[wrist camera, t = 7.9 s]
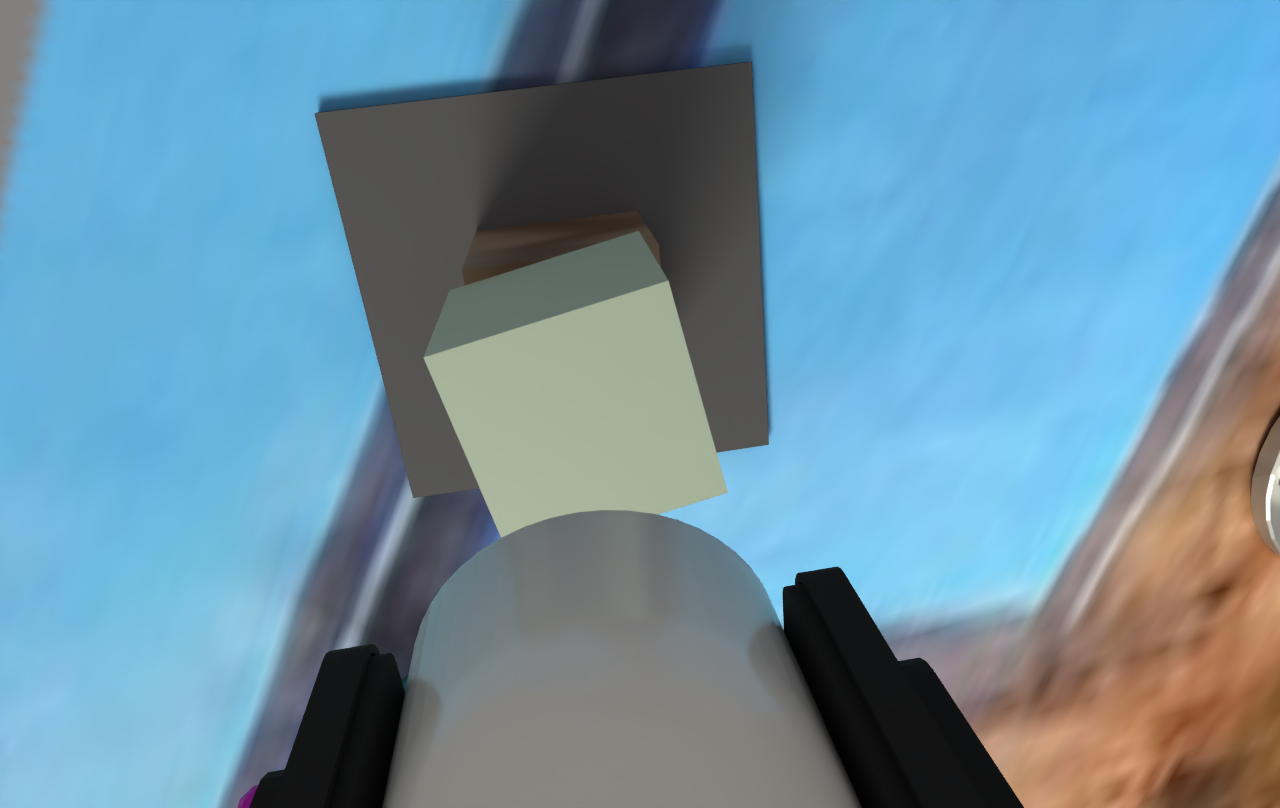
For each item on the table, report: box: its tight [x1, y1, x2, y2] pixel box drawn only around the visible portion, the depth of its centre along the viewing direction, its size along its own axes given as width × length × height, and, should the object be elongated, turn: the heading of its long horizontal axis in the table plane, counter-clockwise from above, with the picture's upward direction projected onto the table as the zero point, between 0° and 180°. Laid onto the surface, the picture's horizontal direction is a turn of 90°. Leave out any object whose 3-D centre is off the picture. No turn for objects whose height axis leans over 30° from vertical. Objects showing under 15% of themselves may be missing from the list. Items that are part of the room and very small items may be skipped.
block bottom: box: [462, 210, 661, 285], centre depth 26 cm, size 6×6×6 cm
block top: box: [423, 231, 728, 538], centre depth 21 cm, size 6×6×6 cm
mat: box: [315, 62, 769, 498], centre depth 28 cm, size 14×14×1 cm
